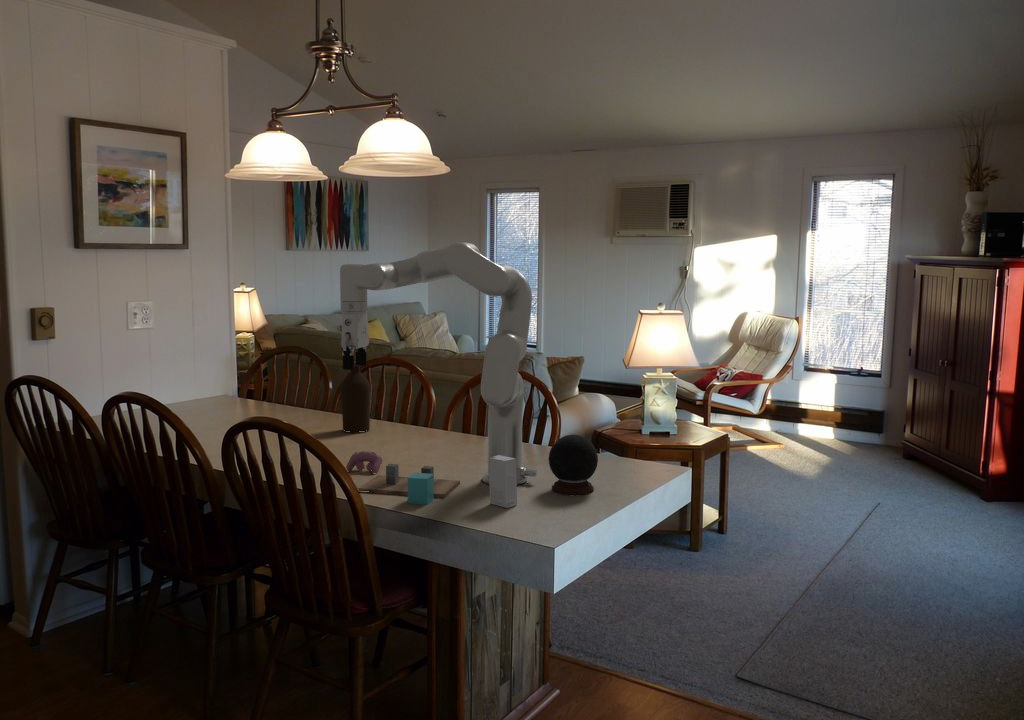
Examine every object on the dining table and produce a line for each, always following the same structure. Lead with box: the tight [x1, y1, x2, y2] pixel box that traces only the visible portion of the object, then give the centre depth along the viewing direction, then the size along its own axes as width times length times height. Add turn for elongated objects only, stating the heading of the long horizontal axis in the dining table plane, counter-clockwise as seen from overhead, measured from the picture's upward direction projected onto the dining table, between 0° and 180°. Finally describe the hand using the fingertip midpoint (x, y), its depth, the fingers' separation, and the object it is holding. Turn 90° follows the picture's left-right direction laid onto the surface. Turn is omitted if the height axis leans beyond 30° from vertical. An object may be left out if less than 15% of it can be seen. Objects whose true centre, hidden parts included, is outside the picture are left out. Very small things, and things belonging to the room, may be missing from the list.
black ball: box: [548, 434, 599, 497], centre depth 225 cm, size 13×13×15 cm
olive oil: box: [340, 360, 372, 432], centre depth 301 cm, size 11×11×25 cm
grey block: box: [385, 463, 400, 485], centre depth 228 cm, size 3×3×5 cm
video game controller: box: [345, 450, 383, 474], centre depth 245 cm, size 10×5×7 cm, turn 74°
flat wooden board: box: [357, 465, 461, 499], centre depth 227 cm, size 24×14×6 cm, turn 77°
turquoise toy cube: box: [407, 472, 435, 506], centre depth 214 cm, size 5×5×7 cm
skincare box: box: [488, 455, 518, 509], centre depth 211 cm, size 6×4×12 cm
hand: (355, 367), depth 241 cm, fingers open, 9 cm apart
